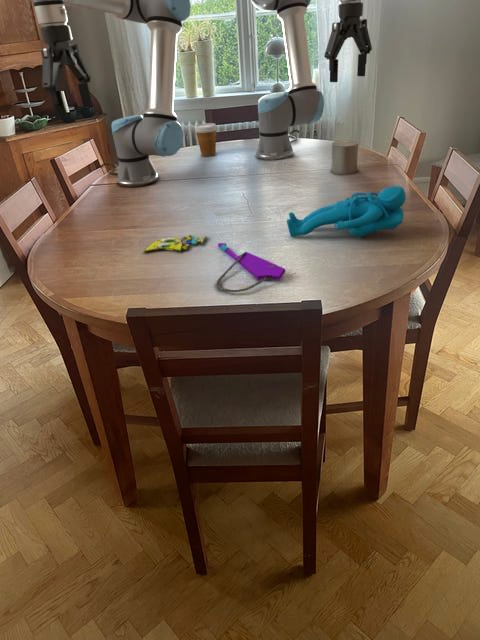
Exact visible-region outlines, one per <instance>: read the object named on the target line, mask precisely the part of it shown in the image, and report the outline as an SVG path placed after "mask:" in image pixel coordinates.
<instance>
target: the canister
mask: <svg viewBox="0 0 480 640" xmlns="http://www.w3.org/2000/svg"><path fill="white" fill-rule="evenodd" d="M358 154H359V141H357V140H353V139H341V140H335V141H332V143H331V173H333V174H335V175H342V176H343V175H352V174H355V173H356V172H357V171H358V158H359V157H358V156H359V155H358Z"/></svg>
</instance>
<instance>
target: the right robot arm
mask: <svg viewBox="0 0 480 640" xmlns="http://www.w3.org/2000/svg"><path fill="white" fill-rule="evenodd" d="M250 2H251V3H252V5H253V6H254V7H255V8H256V9H258V10H260V11H265V12H272V11H273V12H275V11H276V16H277V18H278V19H279V20H280V21H281V24H282V25H281V26H282V32H283V39H284V47H285V53H286V60H287V68H288V76H289V77H288V78H289V83H290V86H289V88H288V90H287V92H286V91H278V92H272V93H268V94H265V95H263V96H261V97H260V98H259V99H258V102H257V115H258V130H259V131H258V133H259V138H258V142H257V146H256V151H255V155H256V158H257V159H260V160H265V161H275V160H283V159H287V158H290V157H292V156H293V155H294V149H293V145H292V143H295V142H296V141H297V140H298V138H297V136H295V135H292V134H294V133H295V132H296V133H298V134H299V133H300V131H299V130H298V129H294V130H292V131H290V132H289V127H296V126H303V125H310V124H314V123H317V122H319V121H320V120H321V119H322V116H323V113H324V110H325V98H324V95H323V92H321V91H320V90H318V88H317V84H315V83H314V82H313V80H312V71H311V62H310V55H309V47H308V38H307V32H306V30H307V29H306V23H305V14H306V13H307V11H308V7H309V6H310V4H311V0H250ZM337 2H339V4H338V6H337V18H338V19H339V21H338V22H332V24H331V32H330V35H329V39H328V43H327V45H326V48H325V52H324V55H323V56H324V58H325V59H326V60H328V70H329V83H338V81H339V59H338V57H339V54H340V51H341V49H342V47H343V46H344V43H345V42H346V40H348V39H349V38H352V39H353V41H354V43H355V45H356V48H357V49H358V51H359V53H358V54H357V71H356V73H357V75H356V77H366V67H367V61H368V60H367V57H368V54H370V53H371V51H372V50H373V46H372V43H371V38H370V33H369V29H368V19H367V18H361V17H362V16H363V14H364V13H363V12H364V3H363V2H362V0H337ZM290 138H292V140H290Z"/></svg>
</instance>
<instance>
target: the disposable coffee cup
mask: <svg viewBox="0 0 480 640" xmlns="http://www.w3.org/2000/svg"><path fill="white" fill-rule="evenodd" d="M217 128H218V127H217V125H216V123H214V122H207V123H206V122H205V123H199V124H196V125H195V126H194V131H195V133H196V138H197V142H198V146H199V150H200V154H201V157H210V156H211V157H212V156H215V155H216V153H217V150H216V149H217Z"/></svg>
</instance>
